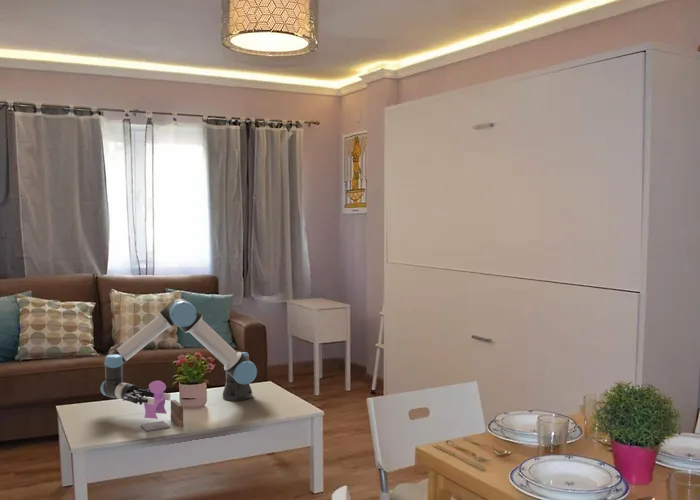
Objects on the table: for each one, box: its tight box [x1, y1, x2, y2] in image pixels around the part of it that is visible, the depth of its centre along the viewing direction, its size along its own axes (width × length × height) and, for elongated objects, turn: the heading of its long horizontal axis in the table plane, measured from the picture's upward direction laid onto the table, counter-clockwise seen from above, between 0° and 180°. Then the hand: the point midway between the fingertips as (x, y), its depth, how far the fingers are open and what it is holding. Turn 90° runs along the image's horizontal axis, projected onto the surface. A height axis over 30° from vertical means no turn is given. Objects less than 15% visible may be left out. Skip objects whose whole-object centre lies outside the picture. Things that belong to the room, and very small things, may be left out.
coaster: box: [140, 420, 171, 432], centre depth 292 cm, size 10×10×1 cm
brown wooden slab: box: [170, 399, 184, 427], centre depth 297 cm, size 2×12×9 cm, turn 32°
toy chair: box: [143, 380, 167, 420], centre depth 291 cm, size 8×9×15 cm
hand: (161, 399), depth 288 cm, fingers closed on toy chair, 8 cm apart
